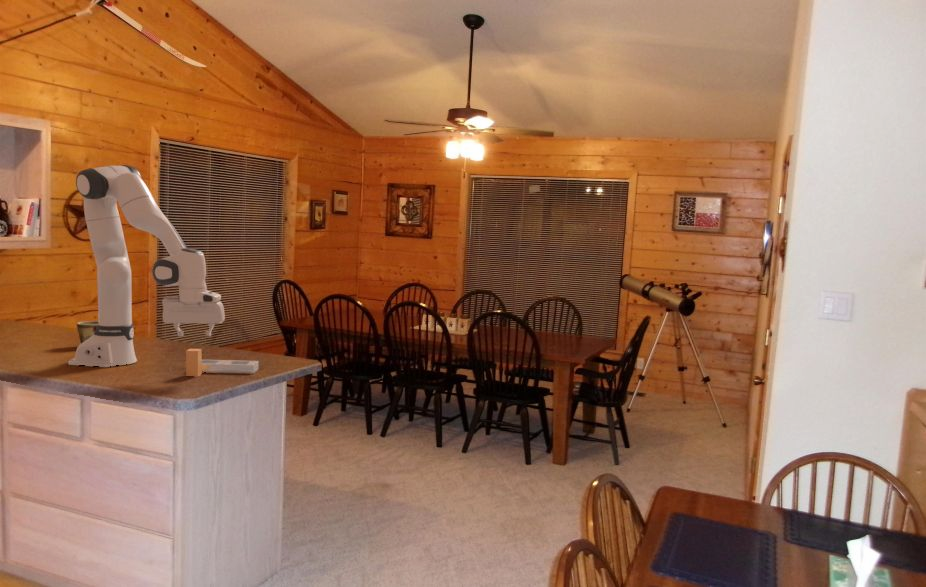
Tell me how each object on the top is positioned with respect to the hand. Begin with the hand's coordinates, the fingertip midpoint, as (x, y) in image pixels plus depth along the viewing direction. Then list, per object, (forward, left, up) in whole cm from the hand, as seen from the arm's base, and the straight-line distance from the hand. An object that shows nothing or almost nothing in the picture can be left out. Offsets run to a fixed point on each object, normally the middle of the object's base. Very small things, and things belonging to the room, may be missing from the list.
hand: (194, 336), depth 246 cm
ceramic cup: (-56, +48, -14) cm, 75 cm away
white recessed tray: (+8, +9, -14) cm, 18 cm away
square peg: (0, 0, -14) cm, 14 cm away
